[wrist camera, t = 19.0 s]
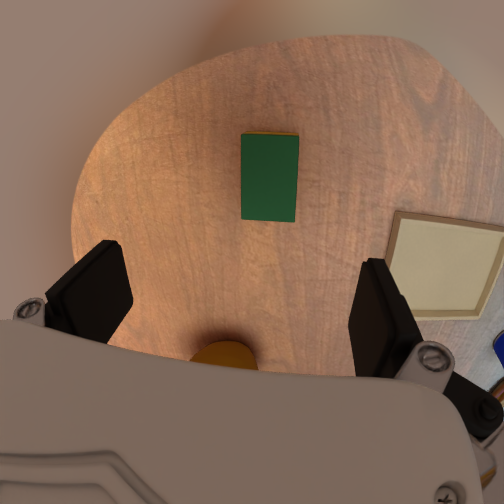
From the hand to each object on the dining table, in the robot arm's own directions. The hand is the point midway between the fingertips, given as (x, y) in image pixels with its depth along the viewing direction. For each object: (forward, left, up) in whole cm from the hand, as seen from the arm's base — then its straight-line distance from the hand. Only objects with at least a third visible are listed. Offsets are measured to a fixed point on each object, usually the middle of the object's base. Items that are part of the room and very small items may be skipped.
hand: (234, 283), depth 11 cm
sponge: (0, 0, -20) cm, 20 cm away
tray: (+10, +22, -20) cm, 32 cm away
